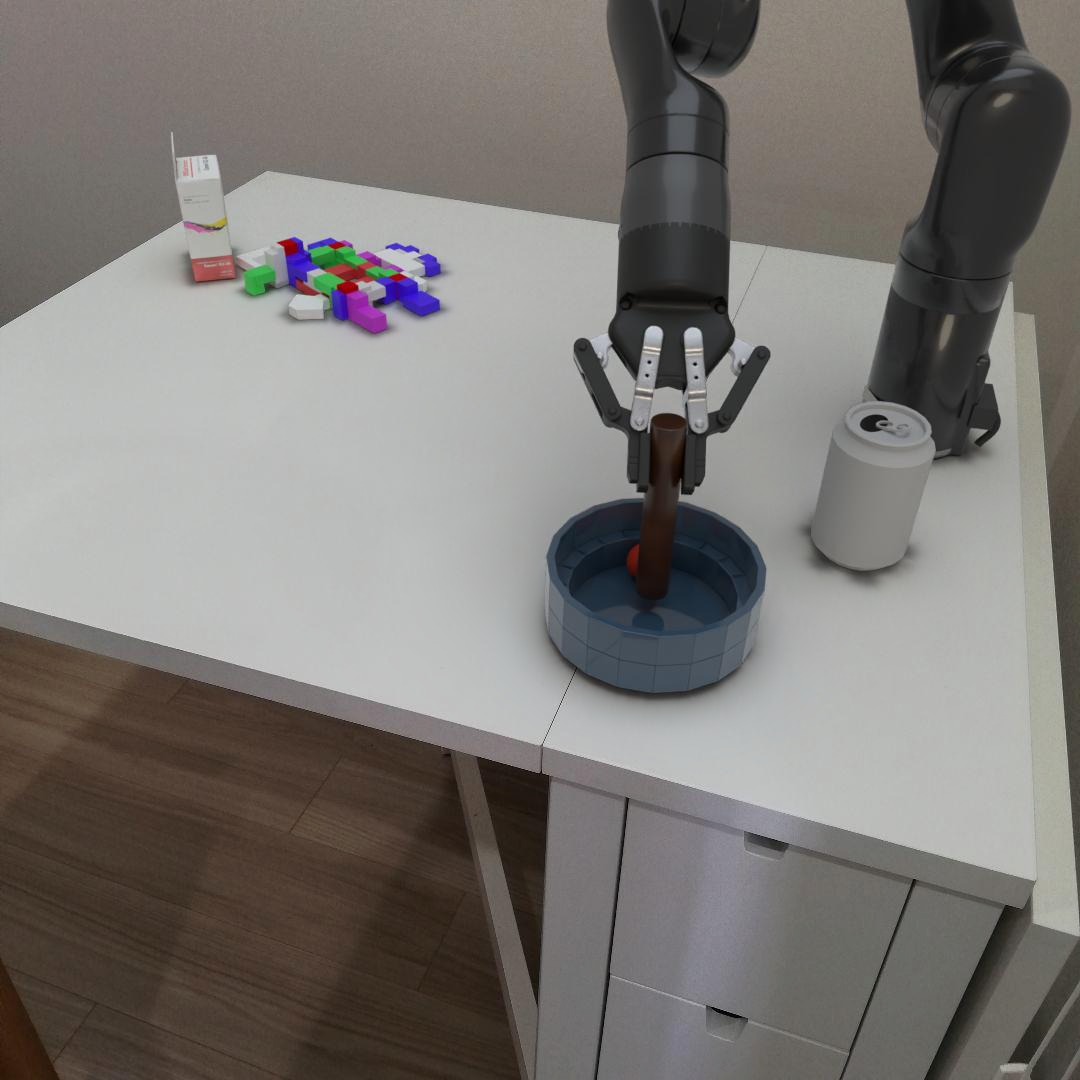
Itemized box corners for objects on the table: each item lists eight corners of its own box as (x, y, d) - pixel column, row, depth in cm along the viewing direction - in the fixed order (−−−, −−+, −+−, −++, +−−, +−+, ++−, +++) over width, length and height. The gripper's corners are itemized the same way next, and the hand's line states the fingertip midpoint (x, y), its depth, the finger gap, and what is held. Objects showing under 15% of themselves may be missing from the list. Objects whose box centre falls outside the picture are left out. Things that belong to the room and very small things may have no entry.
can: (835, 508, 89) (864, 384, 82) (919, 544, 86) (957, 417, 78) (791, 550, 85) (818, 422, 77) (878, 590, 81) (915, 460, 74)
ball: (672, 579, 80) (675, 542, 80) (653, 590, 78) (655, 552, 77) (638, 571, 82) (640, 534, 81) (618, 581, 80) (620, 544, 79)
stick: (669, 583, 78) (689, 414, 70) (666, 603, 76) (685, 432, 68) (637, 578, 78) (653, 410, 70) (632, 598, 76) (648, 427, 68)
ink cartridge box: (238, 278, 123) (217, 150, 114) (194, 283, 122) (169, 154, 113) (232, 250, 129) (211, 126, 120) (190, 254, 128) (166, 129, 119)
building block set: (487, 291, 121) (486, 254, 119) (338, 347, 110) (334, 308, 107) (358, 227, 135) (355, 193, 133) (215, 272, 124) (208, 235, 121)
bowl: (759, 575, 82) (771, 513, 78) (746, 718, 70) (759, 653, 67) (567, 546, 85) (570, 485, 81) (524, 679, 73) (525, 615, 69)
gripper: (572, 213, 68) (559, 477, 66) (788, 221, 68) (782, 487, 66) (571, 258, 76) (560, 496, 74) (766, 265, 75) (760, 505, 73)
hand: (665, 490), depth 70 cm, fingers closed on stick, 2 cm apart
